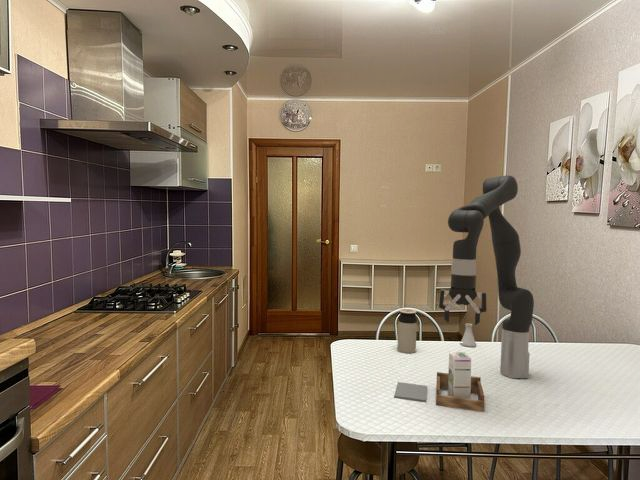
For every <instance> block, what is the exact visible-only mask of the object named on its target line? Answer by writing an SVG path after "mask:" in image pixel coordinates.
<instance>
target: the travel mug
mask: <svg viewBox="0 0 640 480" xmlns="http://www.w3.org/2000/svg"><path fill="white" fill-rule="evenodd" d="M416 314H417V310H415V309H412V308H400V309H399V316H398V320H397V323H398V324H397V325H398V326H397V348H396V349H397V351H398V352H400V353H403V354H413V353H415V352H416V350H417V327H418V326H417V323H418V318H417V316H416Z"/></svg>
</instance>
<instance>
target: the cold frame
mask: <svg viewBox="0 0 640 480" xmlns="http://www.w3.org/2000/svg"><path fill="white" fill-rule="evenodd" d="M448 375H449V372H441V371H436V387H435V389H436V391H435V393H436V394H435V406H440V407H441V406H442V407H448V408H453V409H454V408H456V409H462V410H468V411H475V412H483V413H484V412H485V393H484V389H483V386H482V378H481V377H480V376H473V375H471V394H473V395H476V396H477V399H473V398H470V399H468V398H460V397H453V396H448V395H445V394H440V393H441V392H440V391H441V390H444V391H448Z"/></svg>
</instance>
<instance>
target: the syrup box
mask: <svg viewBox="0 0 640 480" xmlns="http://www.w3.org/2000/svg"><path fill="white" fill-rule="evenodd" d="M448 373H449V375H448V390H447V396H453V397H460V398H468V399H471V394H472V393H471V376H472V357H470V356H469V355H468V353H466V352H460V351H456V352H455V351H453V352H449V351H448Z"/></svg>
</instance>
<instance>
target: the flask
mask: <svg viewBox="0 0 640 480" xmlns="http://www.w3.org/2000/svg"><path fill="white" fill-rule="evenodd" d="M461 342H463V343H461ZM459 344H460V345H461V346H462V347H467V348H476V347H477V343H476V340H475V337H474V333H473V324H472V323H467V322H466V323H465V330H464V334H463V336H462V339H461V340H460V342H459Z"/></svg>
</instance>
